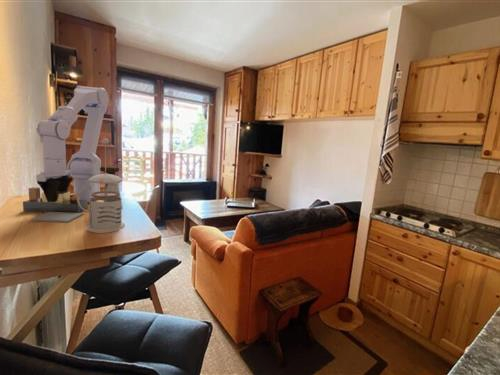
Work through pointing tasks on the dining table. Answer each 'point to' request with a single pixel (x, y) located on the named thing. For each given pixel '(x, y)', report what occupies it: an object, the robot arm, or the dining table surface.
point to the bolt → (109, 170)
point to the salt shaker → (115, 188)
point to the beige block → (59, 197)
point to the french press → (104, 204)
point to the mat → (57, 217)
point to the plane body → (39, 206)
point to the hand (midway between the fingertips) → (56, 199)
